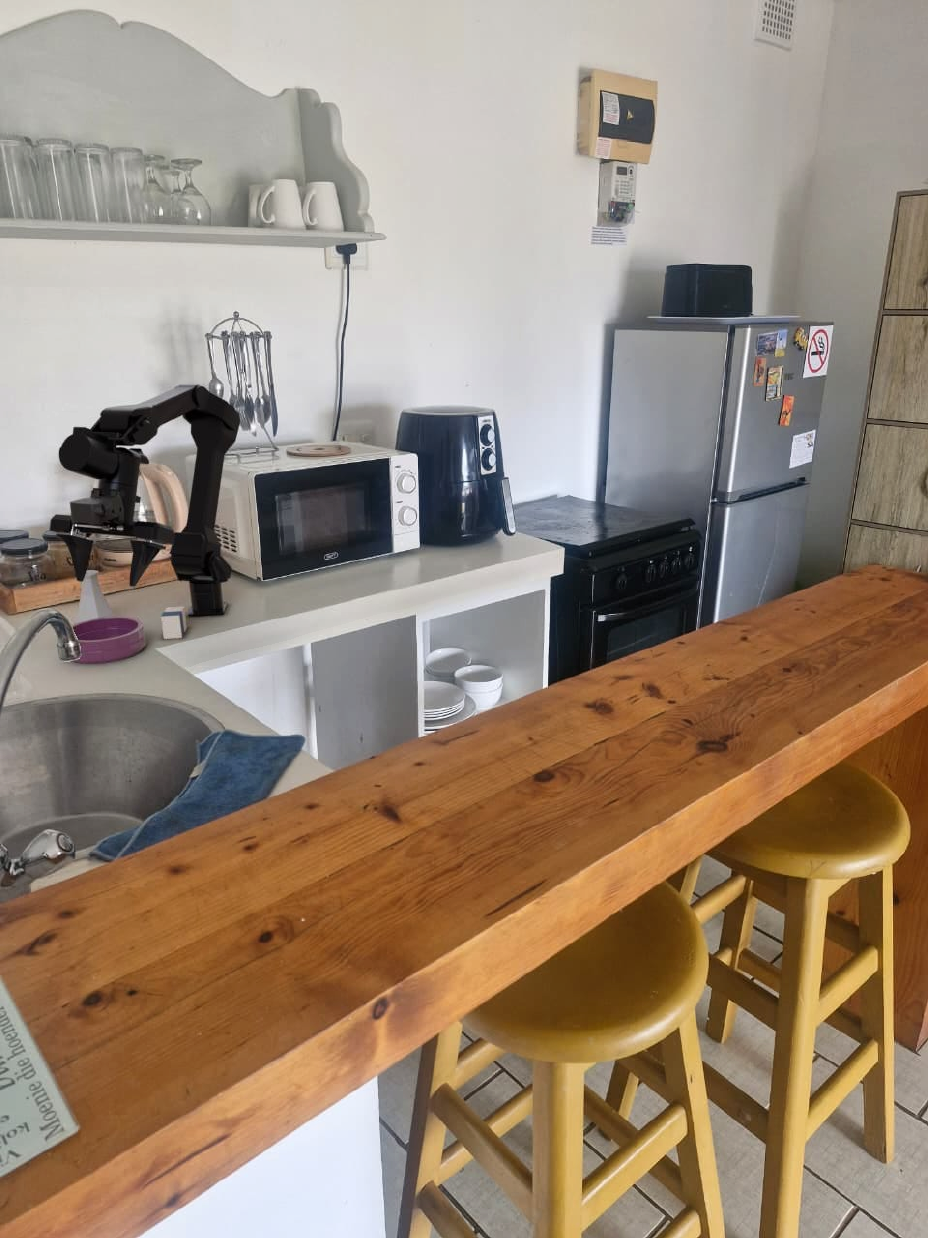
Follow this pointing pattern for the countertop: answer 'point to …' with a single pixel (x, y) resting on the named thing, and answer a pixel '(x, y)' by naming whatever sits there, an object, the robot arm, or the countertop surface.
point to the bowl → (109, 639)
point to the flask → (92, 599)
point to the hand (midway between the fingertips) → (106, 583)
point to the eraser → (173, 622)
